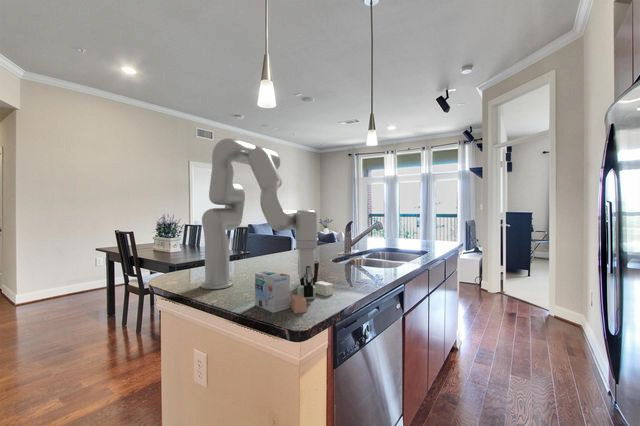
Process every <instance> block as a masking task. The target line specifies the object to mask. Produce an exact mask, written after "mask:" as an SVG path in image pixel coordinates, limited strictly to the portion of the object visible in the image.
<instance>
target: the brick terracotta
mask: <svg viewBox="0 0 640 426" xmlns="http://www.w3.org/2000/svg"><path fill="white" fill-rule="evenodd" d="M290 309H291V310H292V312H293V313H294V314H300V313H306V312H307V299H305V298H304V297H303V296H302V295H301V294H298V293H297V294H292V295H291V294H290Z"/></svg>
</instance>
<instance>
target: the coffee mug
mask: <svg viewBox="0 0 640 426" xmlns="http://www.w3.org/2000/svg"><path fill="white" fill-rule="evenodd" d="M319 268H320V261H319V260H316V259H314V277H313V278H312V281H313V285H314V286H315V282H318V275H319ZM302 279H303V278H302ZM299 281H300V282H299V284H300V285H301V278H300V277H299Z"/></svg>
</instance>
